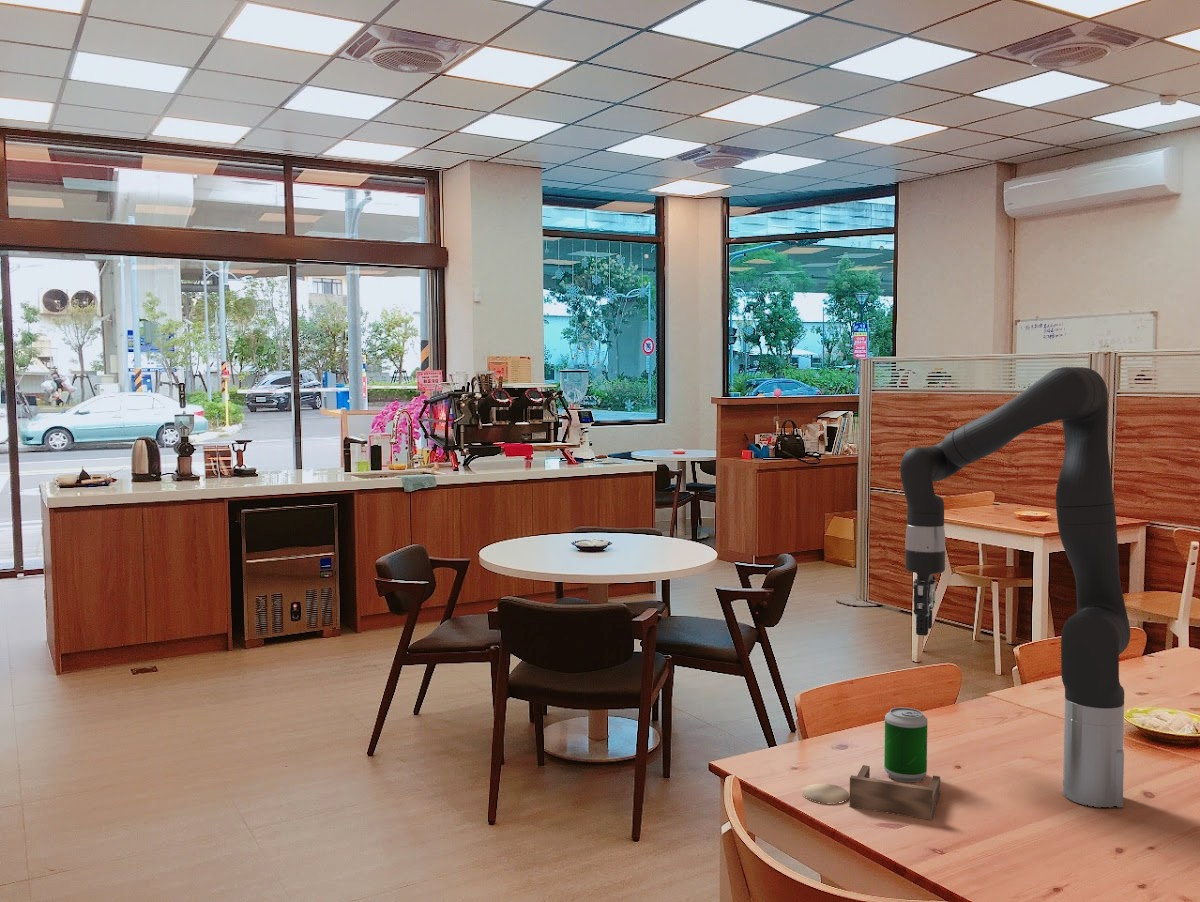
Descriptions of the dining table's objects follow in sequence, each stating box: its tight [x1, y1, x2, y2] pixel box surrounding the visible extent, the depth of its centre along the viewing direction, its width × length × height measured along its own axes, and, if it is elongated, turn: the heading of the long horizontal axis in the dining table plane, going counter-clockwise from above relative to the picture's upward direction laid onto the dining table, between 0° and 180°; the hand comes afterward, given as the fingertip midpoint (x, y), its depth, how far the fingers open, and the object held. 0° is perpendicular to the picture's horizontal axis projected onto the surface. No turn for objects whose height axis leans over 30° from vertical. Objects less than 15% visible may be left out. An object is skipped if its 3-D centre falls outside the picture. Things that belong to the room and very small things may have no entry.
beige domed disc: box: [801, 783, 850, 804], centre depth 174 cm, size 8×8×1 cm
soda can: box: [883, 707, 928, 783], centre depth 183 cm, size 8×8×12 cm
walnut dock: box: [849, 764, 941, 821], centre depth 172 cm, size 13×12×5 cm
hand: (924, 631), depth 197 cm, fingers open, 6 cm apart
